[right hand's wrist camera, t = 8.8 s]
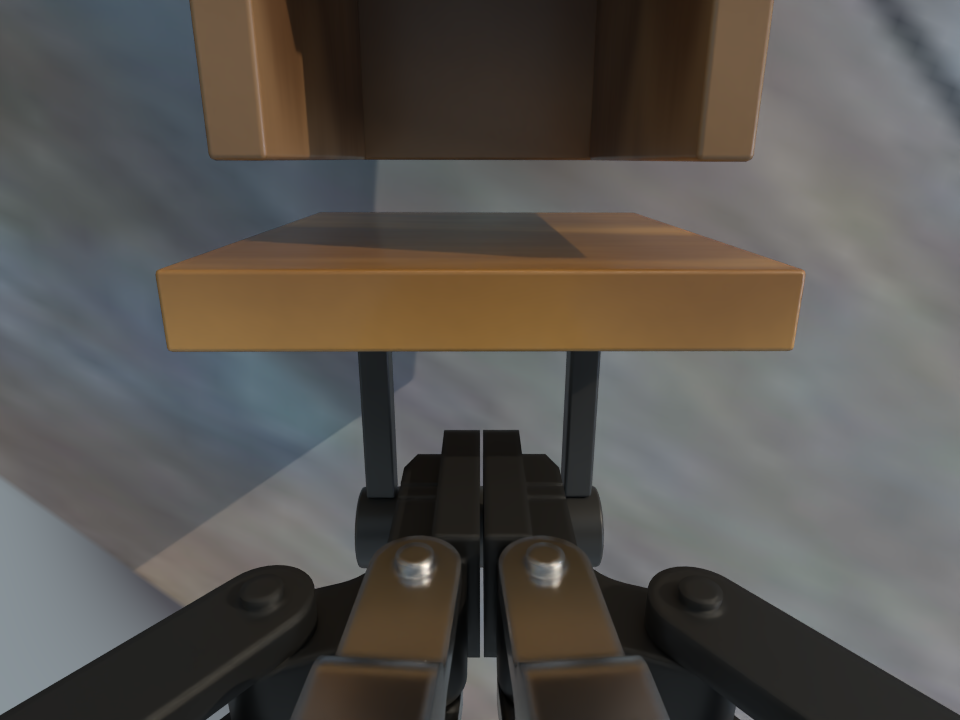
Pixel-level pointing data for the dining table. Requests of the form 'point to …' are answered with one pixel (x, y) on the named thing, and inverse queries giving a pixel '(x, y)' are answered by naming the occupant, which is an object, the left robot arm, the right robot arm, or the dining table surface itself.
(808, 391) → the dining table surface
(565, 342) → the drawer
